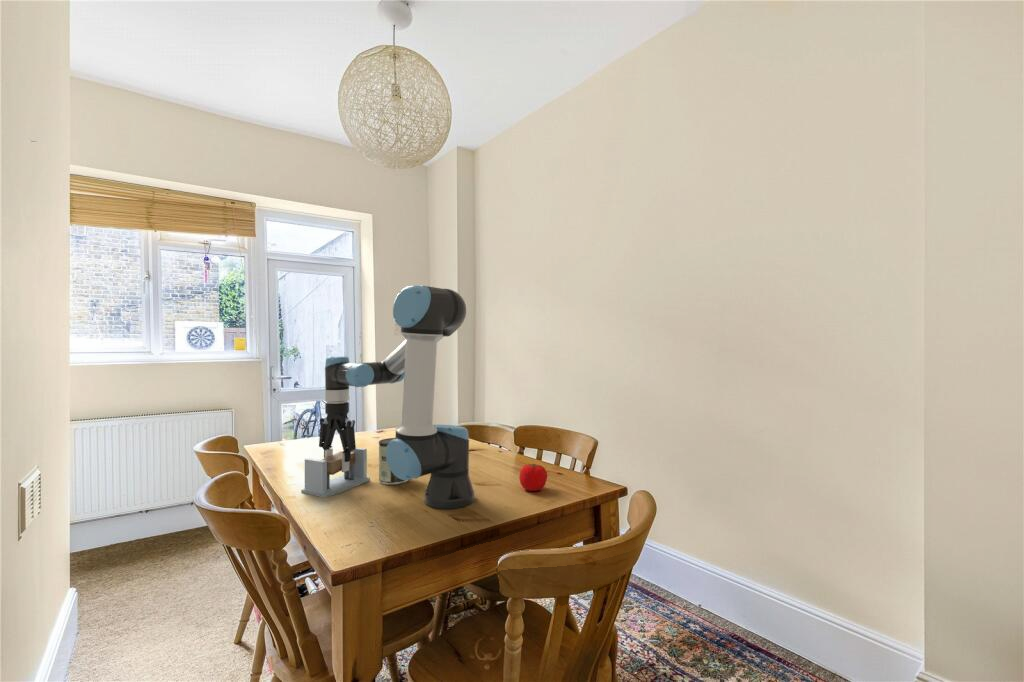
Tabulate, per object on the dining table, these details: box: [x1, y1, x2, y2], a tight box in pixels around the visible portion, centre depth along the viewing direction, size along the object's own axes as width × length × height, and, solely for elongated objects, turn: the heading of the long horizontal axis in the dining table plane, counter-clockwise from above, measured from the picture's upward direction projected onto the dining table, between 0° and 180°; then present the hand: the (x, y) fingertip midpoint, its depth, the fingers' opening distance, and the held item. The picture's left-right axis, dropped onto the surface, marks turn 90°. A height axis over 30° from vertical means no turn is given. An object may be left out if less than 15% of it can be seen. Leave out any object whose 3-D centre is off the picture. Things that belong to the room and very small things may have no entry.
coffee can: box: [378, 437, 409, 486], centre depth 163 cm, size 10×10×14 cm
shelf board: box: [321, 451, 355, 476], centre depth 156 cm, size 6×14×4 cm, turn 170°
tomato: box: [518, 463, 548, 492], centre depth 154 cm, size 9×10×8 cm
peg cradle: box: [300, 447, 371, 498], centre depth 156 cm, size 11×20×11 cm, turn 155°
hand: (337, 469), depth 156 cm, fingers open, 7 cm apart
